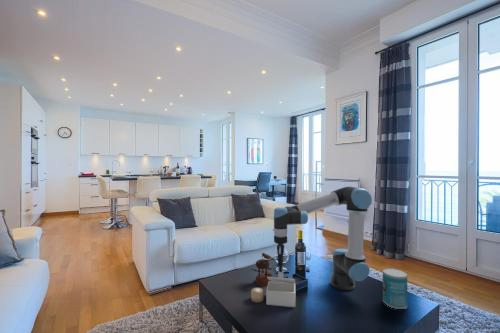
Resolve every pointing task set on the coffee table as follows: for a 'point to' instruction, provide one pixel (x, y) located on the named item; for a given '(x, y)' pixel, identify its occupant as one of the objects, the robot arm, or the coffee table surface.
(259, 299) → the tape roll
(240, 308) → the coffee table surface
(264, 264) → the brown tall irregular piece
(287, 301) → the carton
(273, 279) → the lid
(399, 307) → the food can
